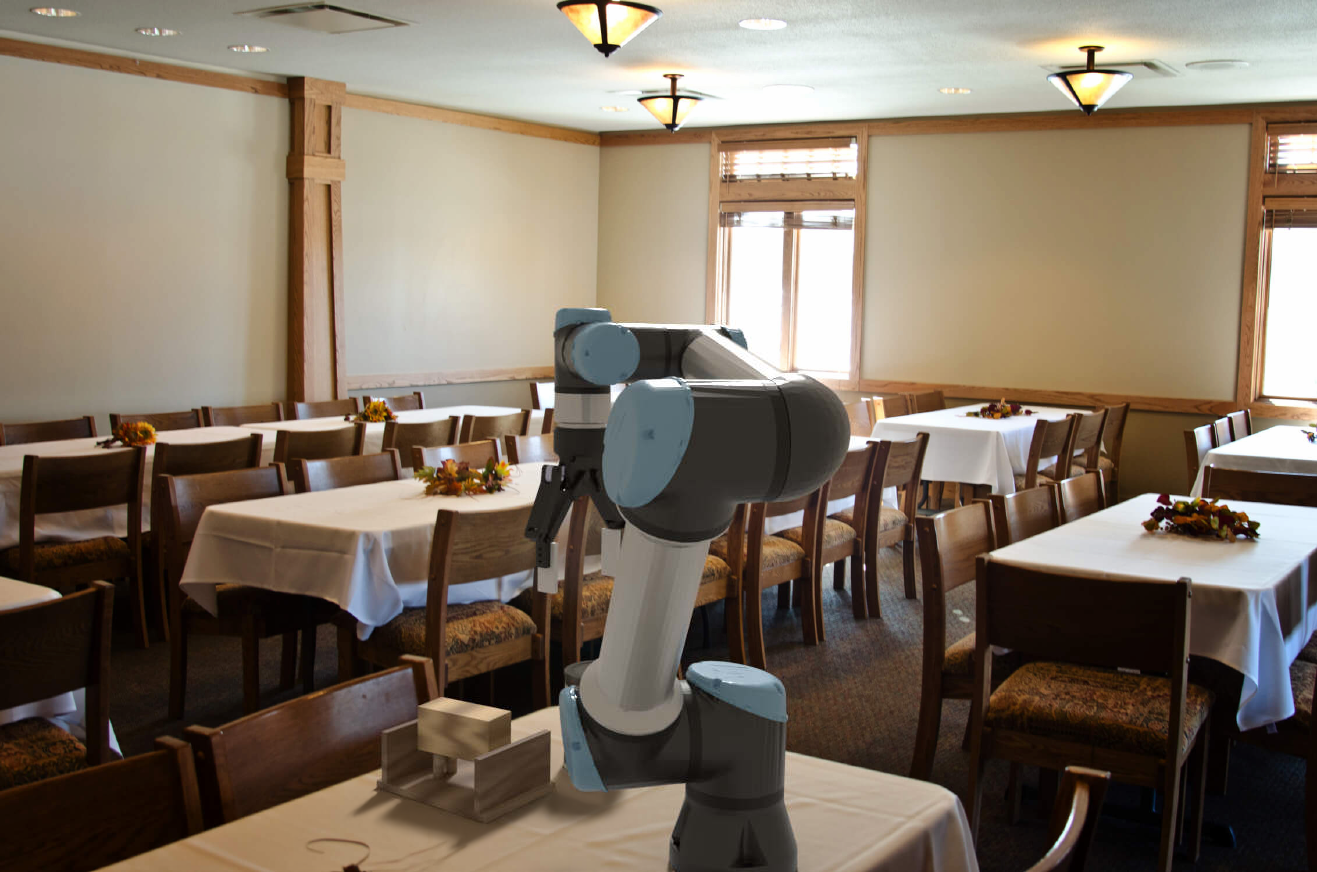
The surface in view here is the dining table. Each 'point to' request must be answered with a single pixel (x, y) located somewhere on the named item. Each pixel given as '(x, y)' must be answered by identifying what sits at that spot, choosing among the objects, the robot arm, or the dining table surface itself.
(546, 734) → the peg frame
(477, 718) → the beam
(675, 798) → the dining table surface
